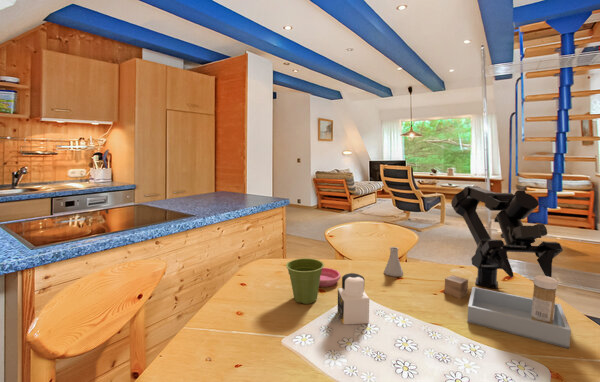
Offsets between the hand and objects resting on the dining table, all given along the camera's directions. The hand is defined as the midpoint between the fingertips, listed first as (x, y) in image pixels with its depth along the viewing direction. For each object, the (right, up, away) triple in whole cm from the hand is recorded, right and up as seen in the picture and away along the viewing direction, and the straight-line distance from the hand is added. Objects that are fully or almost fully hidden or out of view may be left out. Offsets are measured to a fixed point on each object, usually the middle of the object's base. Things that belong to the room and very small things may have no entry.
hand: (530, 277), depth 81 cm
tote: (-5, -12, 0) cm, 13 cm away
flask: (-27, -8, +34) cm, 44 cm away
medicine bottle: (-48, -12, +2) cm, 49 cm away
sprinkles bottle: (-1, -12, -5) cm, 13 cm away
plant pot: (-61, -11, +13) cm, 63 cm away
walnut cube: (-12, -10, +17) cm, 23 cm away
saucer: (-54, -9, +27) cm, 61 cm away
